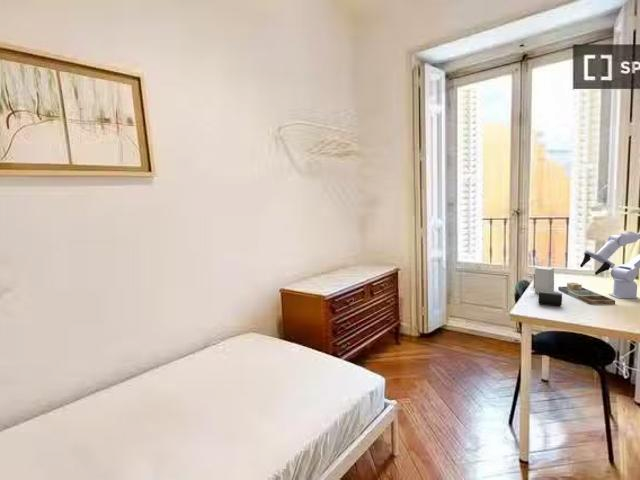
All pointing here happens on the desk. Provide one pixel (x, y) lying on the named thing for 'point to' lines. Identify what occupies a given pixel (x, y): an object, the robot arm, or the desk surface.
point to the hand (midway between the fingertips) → (588, 270)
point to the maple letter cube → (574, 286)
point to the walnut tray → (597, 300)
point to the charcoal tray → (564, 289)
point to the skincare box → (544, 279)
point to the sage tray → (582, 293)
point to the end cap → (550, 298)
